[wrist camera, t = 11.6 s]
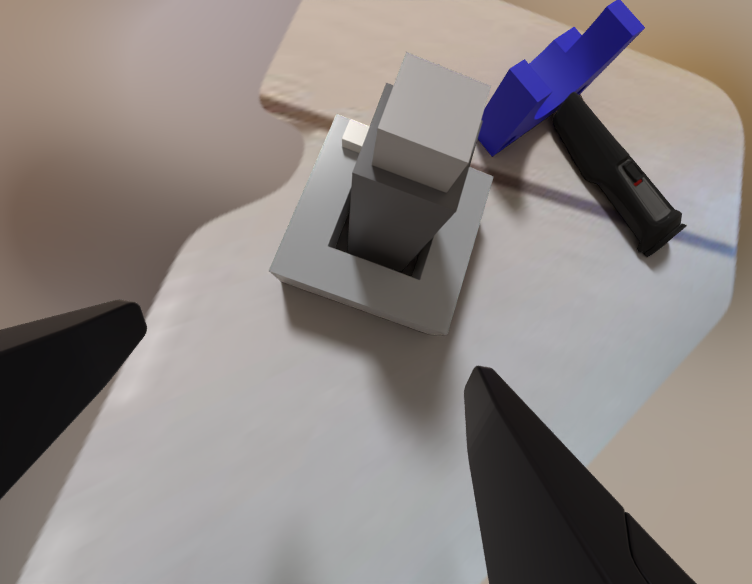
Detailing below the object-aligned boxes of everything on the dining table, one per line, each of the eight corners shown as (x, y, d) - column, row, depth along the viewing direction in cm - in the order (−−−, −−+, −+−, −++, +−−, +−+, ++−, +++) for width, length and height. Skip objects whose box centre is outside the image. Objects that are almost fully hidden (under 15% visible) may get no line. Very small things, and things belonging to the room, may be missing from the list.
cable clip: (549, 60, 27) (606, -16, 21) (579, 95, 27) (645, 27, 21) (459, 119, 25) (495, 52, 19) (491, 157, 25) (537, 102, 19)
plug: (400, 272, 22) (480, 184, 9) (347, 253, 22) (354, 136, 9) (416, 222, 23) (510, 78, 10) (365, 203, 22) (394, 31, 10)
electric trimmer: (562, 110, 27) (590, 80, 24) (665, 239, 26) (709, 226, 23) (534, 127, 26) (559, 98, 23) (639, 261, 25) (681, 250, 22)
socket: (430, 335, 21) (452, 334, 17) (280, 281, 21) (265, 267, 17) (471, 199, 24) (499, 170, 19) (337, 147, 23) (336, 104, 19)
